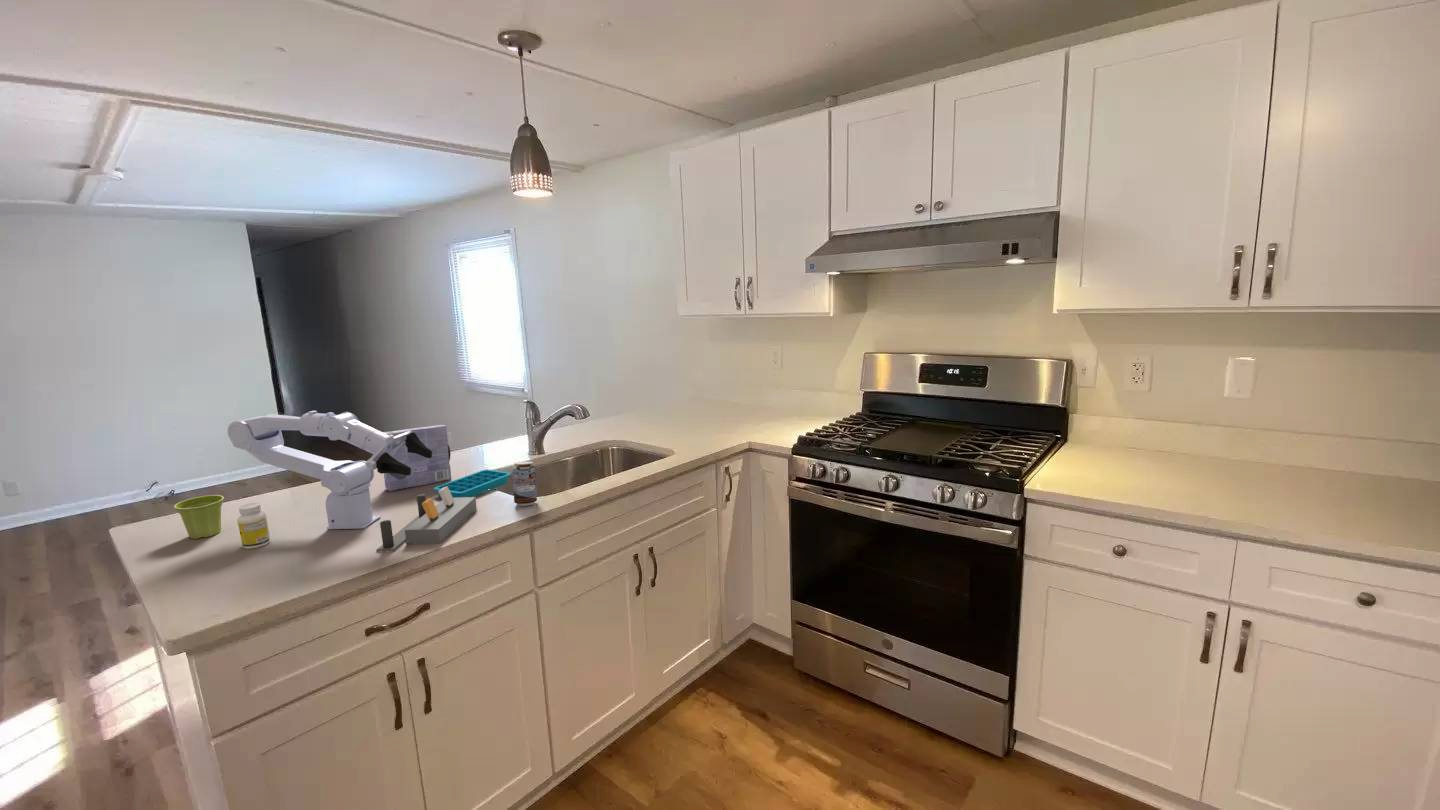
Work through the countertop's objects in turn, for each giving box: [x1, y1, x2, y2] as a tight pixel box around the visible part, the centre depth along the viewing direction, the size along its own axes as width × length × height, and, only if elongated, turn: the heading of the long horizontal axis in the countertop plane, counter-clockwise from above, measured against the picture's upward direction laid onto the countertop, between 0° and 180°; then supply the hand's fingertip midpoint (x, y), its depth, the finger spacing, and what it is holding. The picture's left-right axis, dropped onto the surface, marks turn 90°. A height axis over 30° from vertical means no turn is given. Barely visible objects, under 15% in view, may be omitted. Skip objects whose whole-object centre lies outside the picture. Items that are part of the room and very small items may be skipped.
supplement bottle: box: [236, 502, 271, 550], centre depth 142 cm, size 5×5×10 cm
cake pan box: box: [383, 424, 452, 492], centre depth 185 cm, size 19×5×18 cm, turn 130°
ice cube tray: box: [433, 469, 512, 498], centre depth 180 cm, size 12×20×3 cm, turn 155°
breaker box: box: [405, 496, 478, 545], centre depth 152 cm, size 8×22×4 cm, turn 0°
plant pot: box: [173, 494, 225, 540], centre depth 149 cm, size 9×9×9 cm
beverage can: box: [512, 461, 538, 506], centre depth 166 cm, size 6×7×12 cm
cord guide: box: [376, 493, 427, 553], centre depth 148 cm, size 4×21×7 cm, turn 2°
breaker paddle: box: [422, 497, 439, 521], centre depth 147 cm, size 1×3×5 cm, turn 0°
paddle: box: [438, 486, 454, 508], centre depth 156 cm, size 1×3×5 cm, turn 0°
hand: (420, 463), depth 149 cm, fingers open, 7 cm apart
